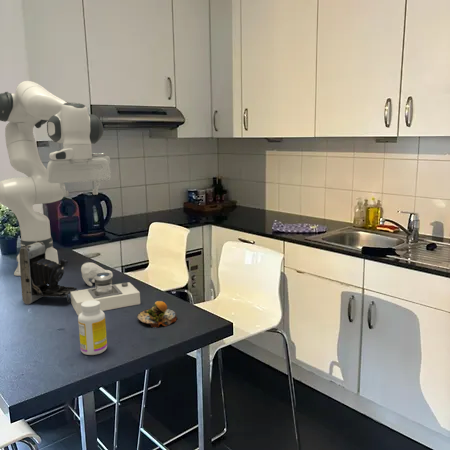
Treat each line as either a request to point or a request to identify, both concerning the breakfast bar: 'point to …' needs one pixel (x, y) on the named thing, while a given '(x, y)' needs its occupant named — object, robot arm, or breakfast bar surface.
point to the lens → (103, 283)
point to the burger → (158, 315)
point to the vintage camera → (40, 274)
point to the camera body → (107, 297)
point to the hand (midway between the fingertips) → (81, 195)
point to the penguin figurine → (91, 272)
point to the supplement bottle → (92, 328)
